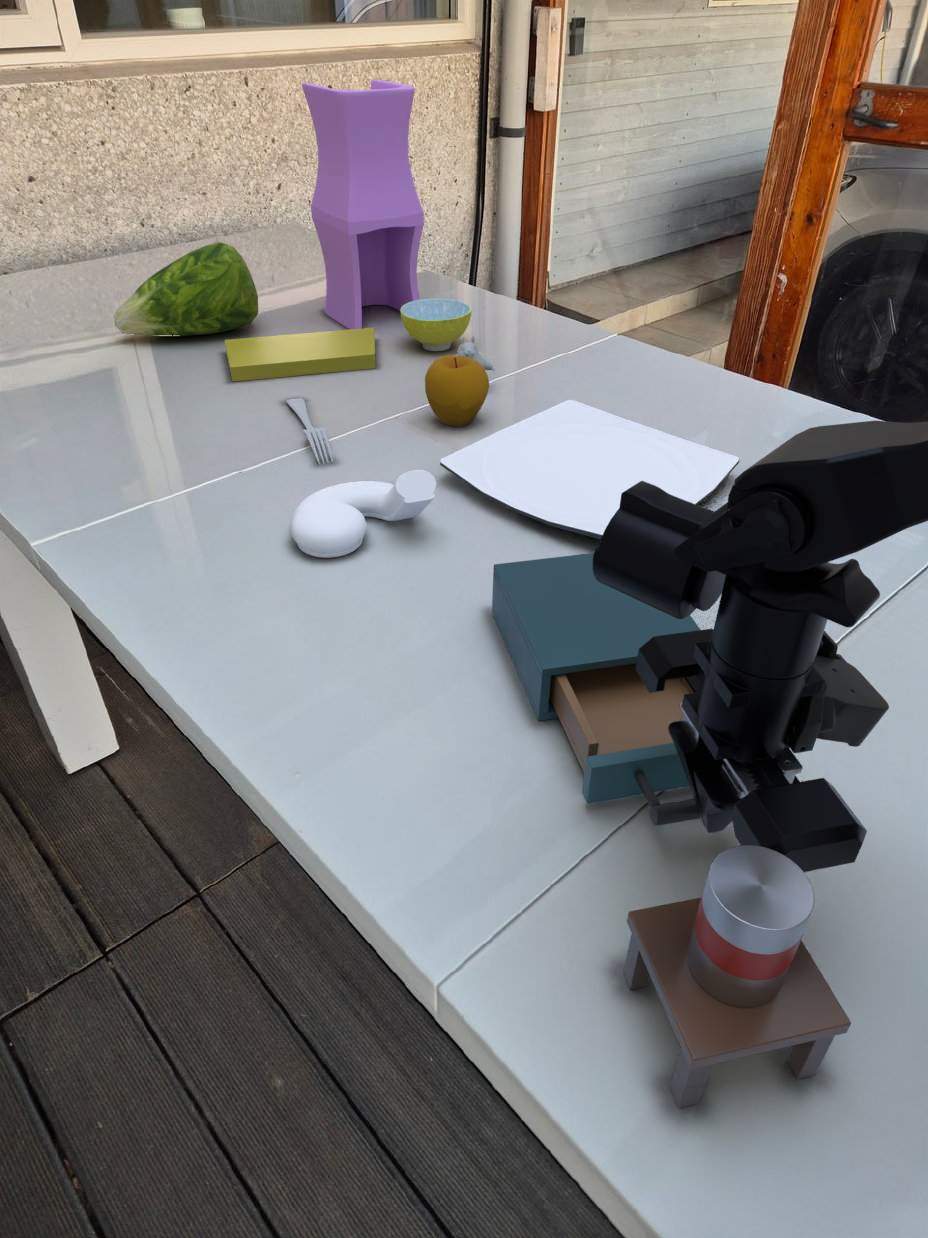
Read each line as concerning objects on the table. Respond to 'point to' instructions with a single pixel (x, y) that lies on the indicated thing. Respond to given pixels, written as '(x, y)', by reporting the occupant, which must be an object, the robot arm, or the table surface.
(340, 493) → the sculpture
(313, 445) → the fork
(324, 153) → the purple hollow column
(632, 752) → the drawer
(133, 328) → the lettuce
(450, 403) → the apple
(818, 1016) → the stool
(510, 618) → the cabinet
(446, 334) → the bowl
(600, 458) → the plate
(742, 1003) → the can
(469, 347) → the figurine
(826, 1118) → the table surface
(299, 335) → the flat olive board
